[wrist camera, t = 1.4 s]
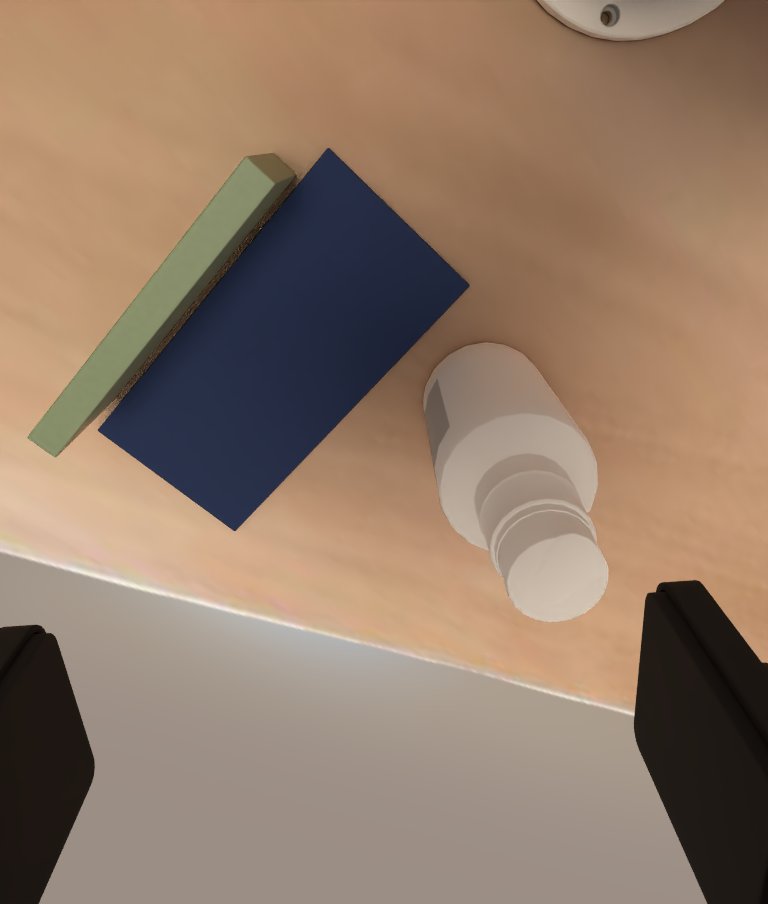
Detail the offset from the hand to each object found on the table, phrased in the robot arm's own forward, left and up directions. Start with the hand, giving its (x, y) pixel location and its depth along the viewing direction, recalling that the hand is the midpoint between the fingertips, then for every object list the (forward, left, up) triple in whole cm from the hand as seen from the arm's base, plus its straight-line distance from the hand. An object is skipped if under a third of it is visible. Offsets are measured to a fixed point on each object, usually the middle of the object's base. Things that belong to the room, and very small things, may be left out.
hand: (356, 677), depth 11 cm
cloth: (+6, +1, -29) cm, 29 cm away
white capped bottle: (-4, +7, -29) cm, 30 cm away
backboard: (+9, -4, -29) cm, 30 cm away
